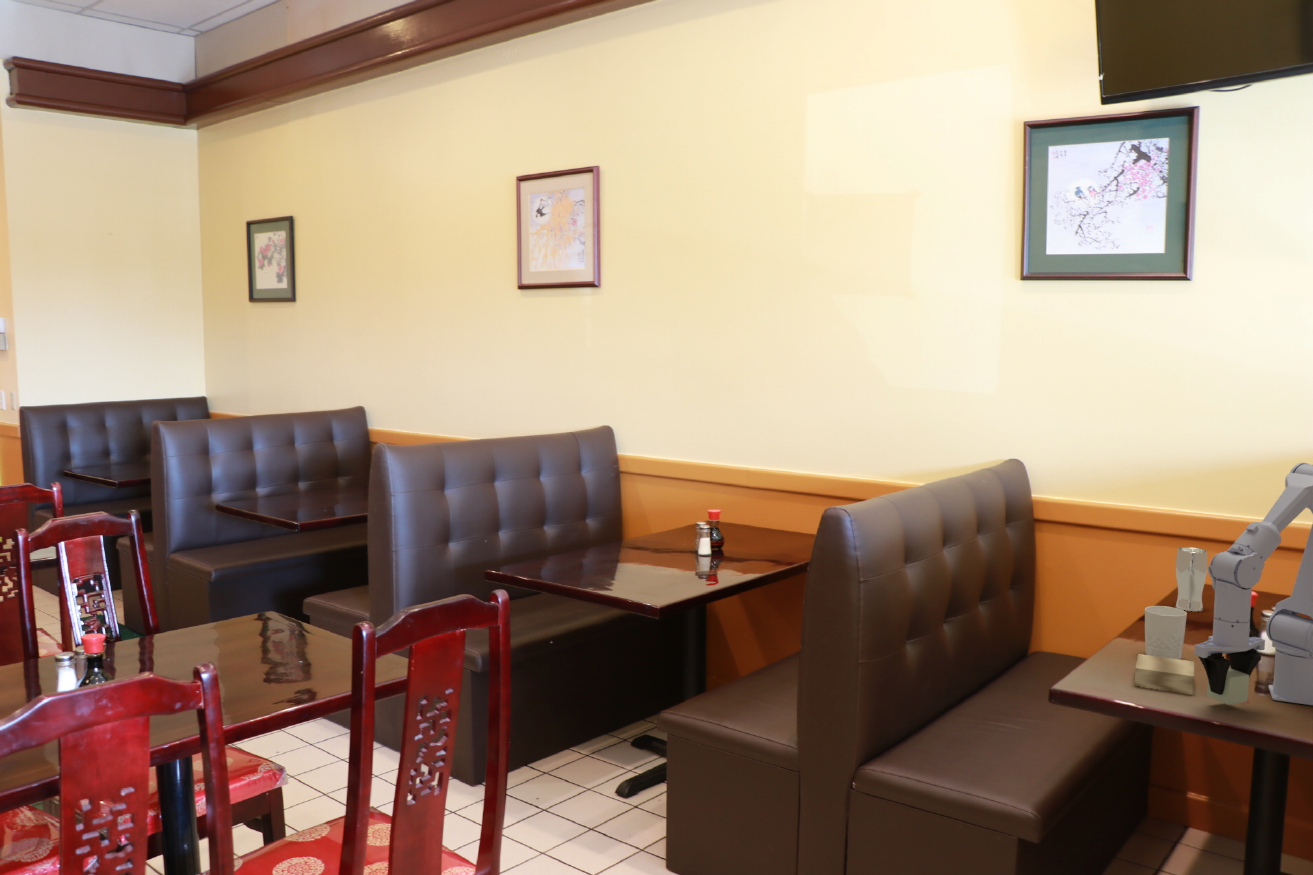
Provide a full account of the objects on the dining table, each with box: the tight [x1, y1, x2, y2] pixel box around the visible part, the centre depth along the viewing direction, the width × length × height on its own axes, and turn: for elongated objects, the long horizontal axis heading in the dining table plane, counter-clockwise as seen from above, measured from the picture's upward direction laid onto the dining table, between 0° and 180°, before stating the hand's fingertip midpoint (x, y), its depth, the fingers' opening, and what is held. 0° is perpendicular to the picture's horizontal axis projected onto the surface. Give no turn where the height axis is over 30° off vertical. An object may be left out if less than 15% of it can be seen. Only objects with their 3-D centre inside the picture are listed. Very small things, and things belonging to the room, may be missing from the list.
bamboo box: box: [1134, 653, 1195, 696], centre depth 194 cm, size 10×10×4 cm
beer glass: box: [1175, 546, 1209, 613], centre depth 248 cm, size 7×7×15 cm
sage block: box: [1206, 667, 1250, 705], centre depth 181 cm, size 5×5×5 cm
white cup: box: [1144, 605, 1188, 660], centre depth 210 cm, size 8×8×10 cm
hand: (1227, 691), depth 181 cm, fingers closed on sage block, 5 cm apart
